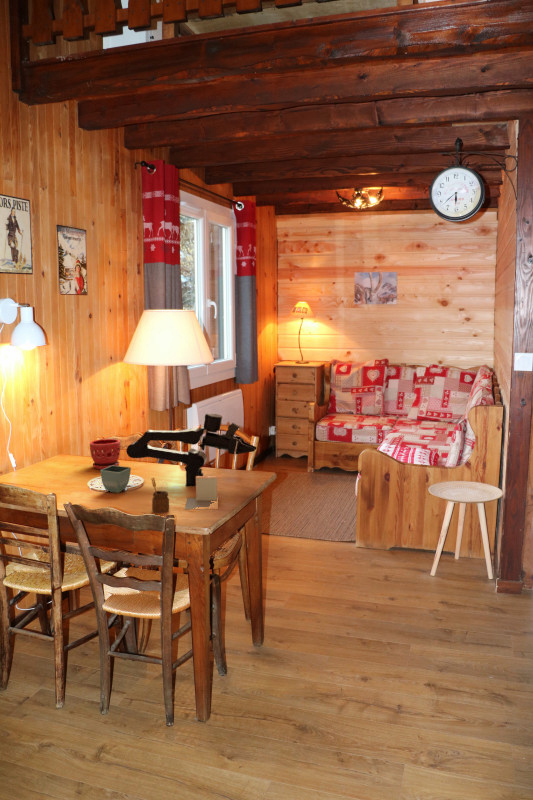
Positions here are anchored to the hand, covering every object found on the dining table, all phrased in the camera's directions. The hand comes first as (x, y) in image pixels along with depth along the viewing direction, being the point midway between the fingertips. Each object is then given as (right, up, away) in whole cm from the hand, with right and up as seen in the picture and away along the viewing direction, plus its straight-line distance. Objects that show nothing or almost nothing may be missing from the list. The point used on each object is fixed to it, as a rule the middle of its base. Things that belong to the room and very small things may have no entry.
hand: (255, 449), depth 267 cm
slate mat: (-19, -19, -21) cm, 34 cm away
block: (-18, -18, -17) cm, 31 cm away
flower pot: (-55, -16, -5) cm, 57 cm away
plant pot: (-68, -11, +31) cm, 75 cm away
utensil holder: (-33, -20, -30) cm, 49 cm away
